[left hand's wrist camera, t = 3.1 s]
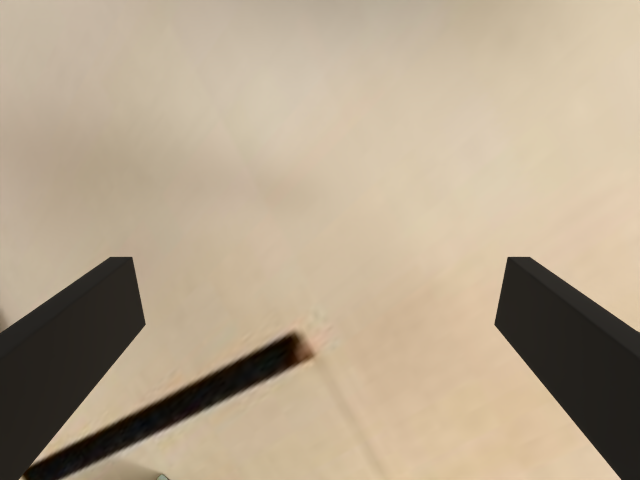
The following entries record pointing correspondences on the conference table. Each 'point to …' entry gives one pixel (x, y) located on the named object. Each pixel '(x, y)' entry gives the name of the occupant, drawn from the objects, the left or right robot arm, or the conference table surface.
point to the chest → (162, 477)
